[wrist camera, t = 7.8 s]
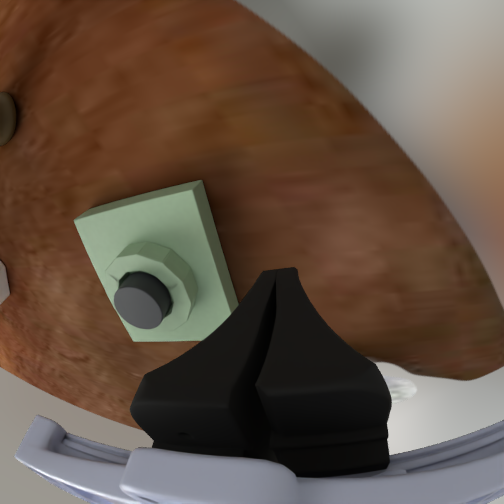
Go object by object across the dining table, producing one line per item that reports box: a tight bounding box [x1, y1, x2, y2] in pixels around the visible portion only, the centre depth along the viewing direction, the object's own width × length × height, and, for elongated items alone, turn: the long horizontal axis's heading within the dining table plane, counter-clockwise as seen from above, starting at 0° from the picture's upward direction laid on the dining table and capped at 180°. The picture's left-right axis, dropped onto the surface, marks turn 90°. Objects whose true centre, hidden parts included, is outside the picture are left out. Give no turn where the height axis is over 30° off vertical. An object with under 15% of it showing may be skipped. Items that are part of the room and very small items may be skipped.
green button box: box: [74, 180, 239, 341], centre depth 21 cm, size 12×10×4 cm
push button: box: [114, 272, 171, 329], centre depth 19 cm, size 4×4×2 cm
